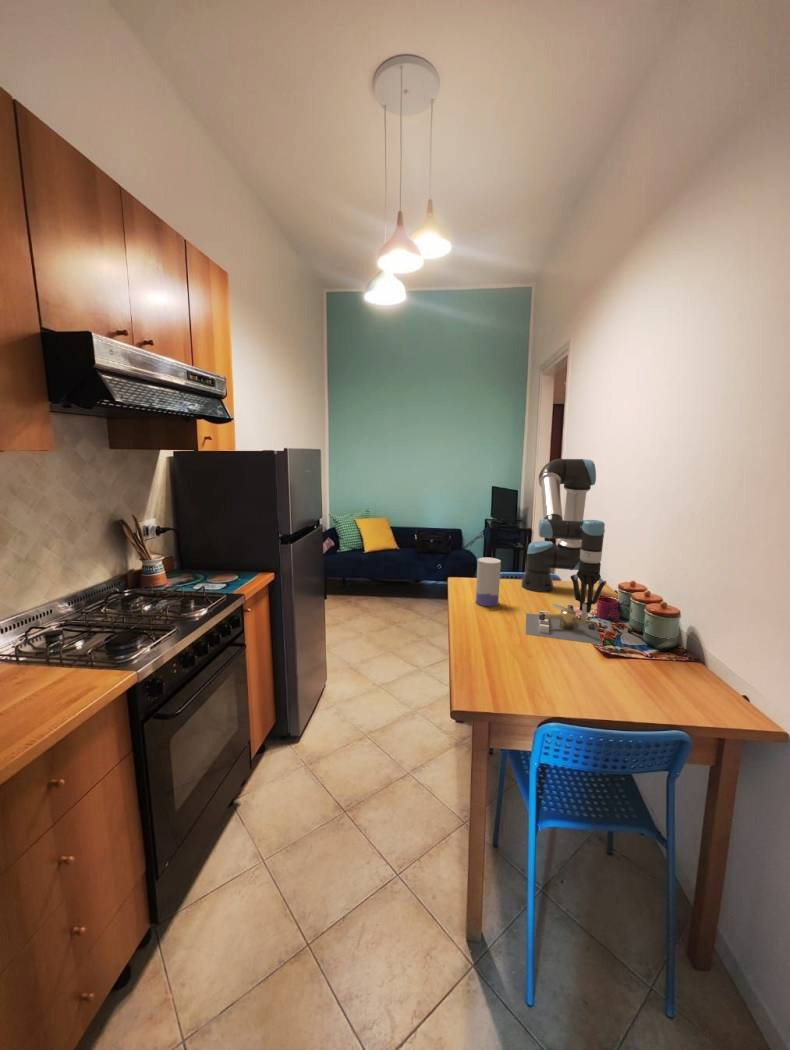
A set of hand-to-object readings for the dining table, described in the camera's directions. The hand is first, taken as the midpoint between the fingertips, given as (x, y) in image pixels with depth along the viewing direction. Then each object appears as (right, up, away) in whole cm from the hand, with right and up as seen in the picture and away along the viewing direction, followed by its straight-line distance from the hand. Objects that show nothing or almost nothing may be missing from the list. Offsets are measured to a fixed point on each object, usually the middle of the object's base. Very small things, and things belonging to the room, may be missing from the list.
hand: (584, 619), depth 166 cm
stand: (-10, -4, -3) cm, 11 cm away
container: (-33, +2, +25) cm, 41 cm away
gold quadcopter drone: (-7, -3, -5) cm, 9 cm away
